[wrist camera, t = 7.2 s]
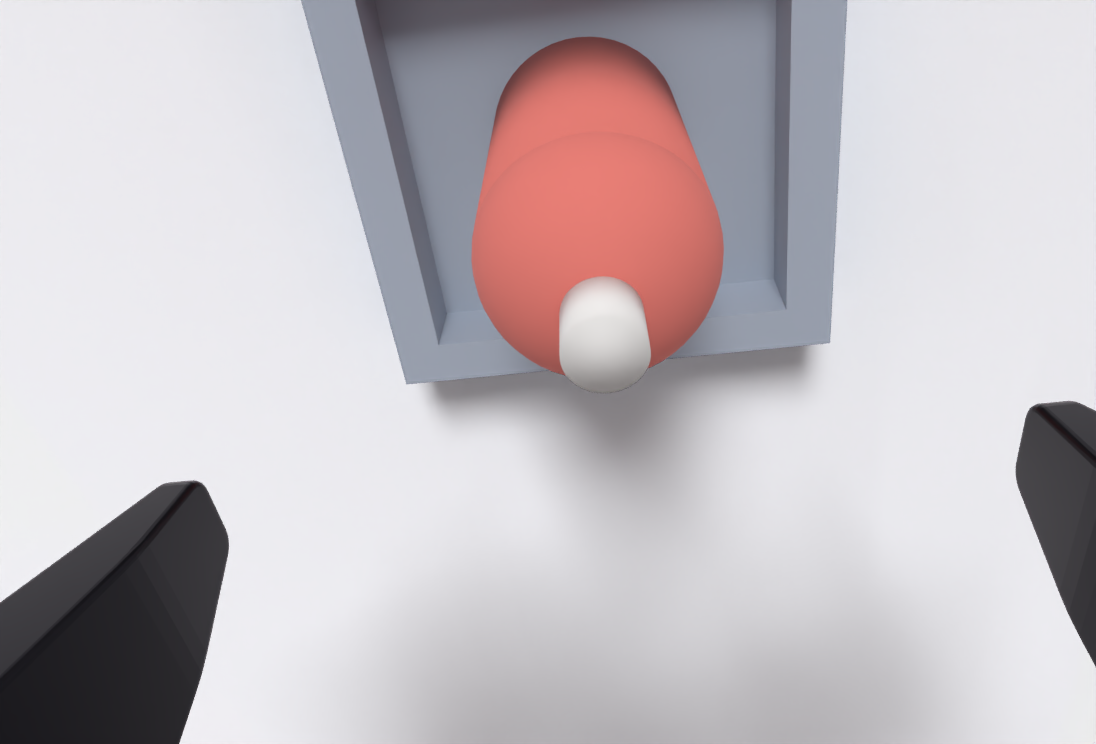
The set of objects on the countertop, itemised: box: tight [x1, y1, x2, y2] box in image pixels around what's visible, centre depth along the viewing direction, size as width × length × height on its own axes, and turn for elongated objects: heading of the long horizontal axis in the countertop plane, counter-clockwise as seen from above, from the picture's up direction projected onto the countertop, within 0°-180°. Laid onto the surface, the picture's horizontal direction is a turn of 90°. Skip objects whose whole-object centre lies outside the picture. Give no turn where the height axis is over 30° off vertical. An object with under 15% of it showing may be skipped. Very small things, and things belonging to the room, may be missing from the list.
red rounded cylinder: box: [471, 37, 724, 393], centre depth 15 cm, size 4×4×9 cm
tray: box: [301, 0, 847, 384], centre depth 19 cm, size 10×10×2 cm
